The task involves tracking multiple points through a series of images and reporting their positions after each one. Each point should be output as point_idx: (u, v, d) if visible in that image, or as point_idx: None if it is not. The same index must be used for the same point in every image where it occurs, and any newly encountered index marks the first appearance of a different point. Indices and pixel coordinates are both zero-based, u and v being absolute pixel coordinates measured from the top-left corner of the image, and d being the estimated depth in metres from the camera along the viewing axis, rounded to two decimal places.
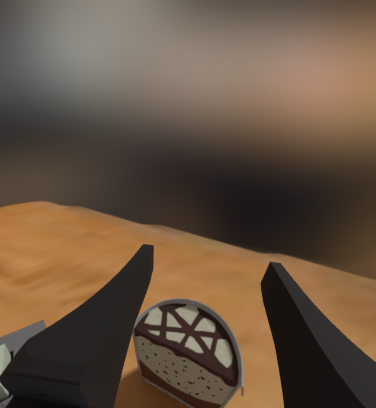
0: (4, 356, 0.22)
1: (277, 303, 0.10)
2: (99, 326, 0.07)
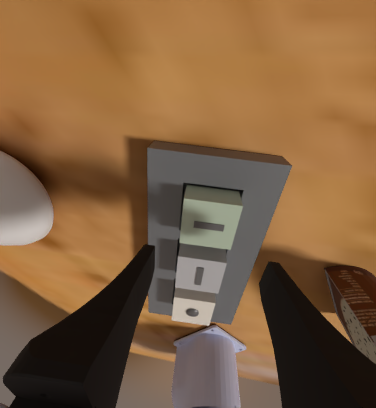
0: None
1: (275, 303, 0.10)
2: (102, 326, 0.07)
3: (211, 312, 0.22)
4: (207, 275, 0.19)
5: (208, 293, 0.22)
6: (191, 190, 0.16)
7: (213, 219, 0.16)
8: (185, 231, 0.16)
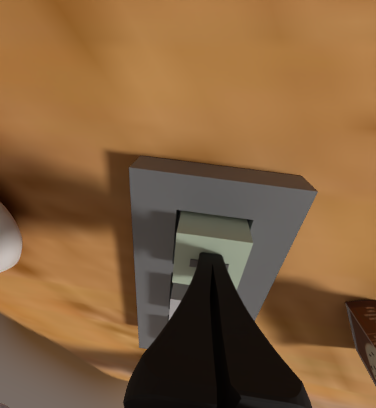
0: None
1: (210, 293, 0.11)
2: (201, 342, 0.07)
3: None
4: None
5: None
6: (186, 219, 0.13)
7: None
8: (179, 270, 0.13)
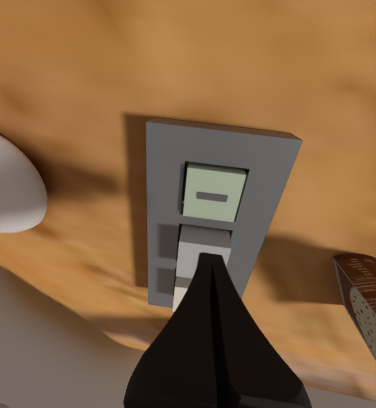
0: None
1: (211, 293, 0.11)
2: (201, 342, 0.07)
3: None
4: None
5: None
6: None
7: (217, 189, 0.16)
8: (189, 203, 0.17)
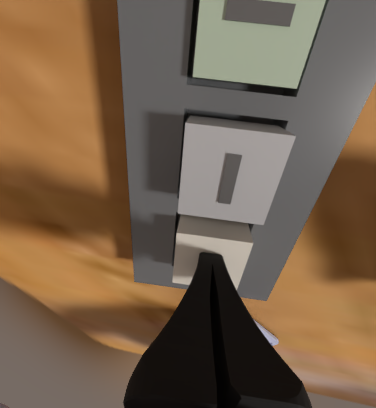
0: None
1: (211, 293, 0.11)
2: (201, 341, 0.07)
3: (243, 264, 0.12)
4: (246, 175, 0.09)
5: (238, 230, 0.12)
6: None
7: None
8: (206, 38, 0.08)
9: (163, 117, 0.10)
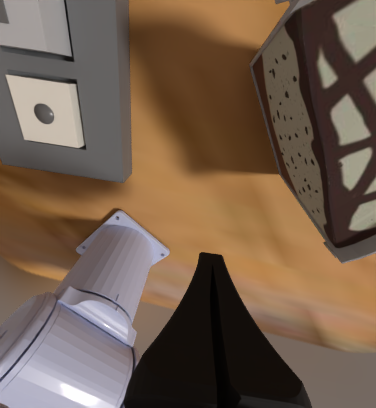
0: None
1: (211, 293, 0.11)
2: (201, 342, 0.07)
3: (70, 111, 0.15)
4: None
5: (66, 82, 0.15)
6: None
7: None
8: None
9: None
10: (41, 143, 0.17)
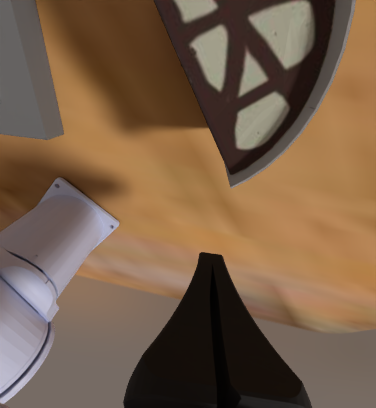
0: None
1: (211, 293, 0.11)
2: (201, 342, 0.07)
3: None
4: None
5: None
6: None
7: None
8: None
9: None
10: None
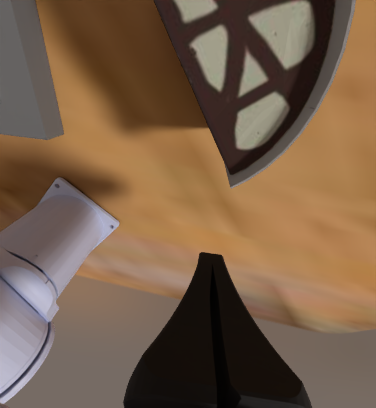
0: None
1: (211, 293, 0.11)
2: (201, 342, 0.07)
3: None
4: None
5: None
6: None
7: None
8: None
9: None
10: None
